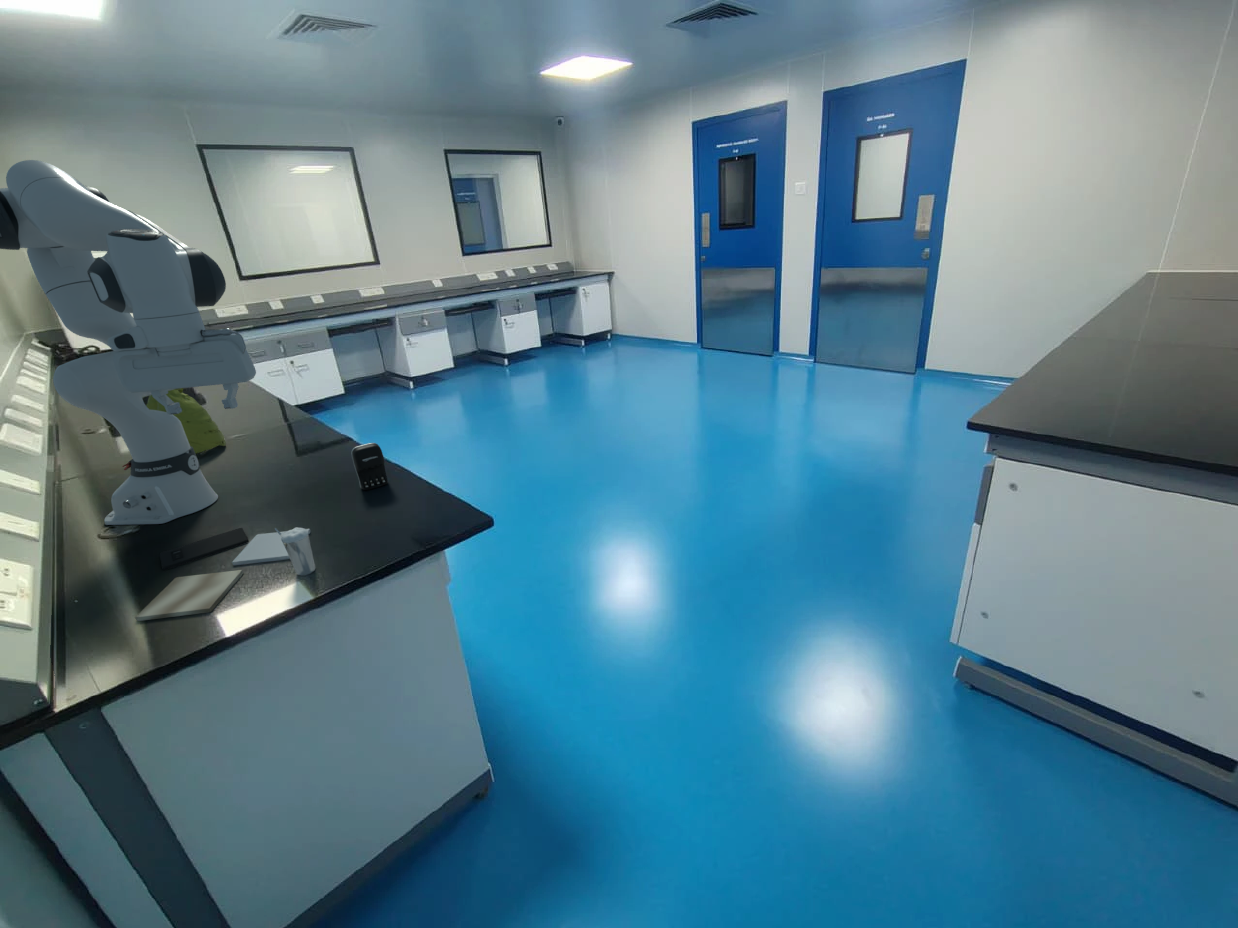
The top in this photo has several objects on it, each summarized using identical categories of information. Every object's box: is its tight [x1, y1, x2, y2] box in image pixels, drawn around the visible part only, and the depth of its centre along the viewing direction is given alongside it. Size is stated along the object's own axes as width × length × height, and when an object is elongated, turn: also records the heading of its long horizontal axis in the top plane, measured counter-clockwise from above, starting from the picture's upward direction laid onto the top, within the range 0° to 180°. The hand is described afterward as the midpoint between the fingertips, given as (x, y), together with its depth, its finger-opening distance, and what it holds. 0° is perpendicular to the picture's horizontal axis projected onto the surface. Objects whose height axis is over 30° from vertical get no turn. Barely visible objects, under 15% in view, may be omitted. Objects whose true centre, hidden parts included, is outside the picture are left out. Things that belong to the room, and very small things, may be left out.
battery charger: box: [350, 442, 389, 491], centre depth 139 cm, size 7×4×11 cm, turn 127°
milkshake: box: [274, 527, 316, 577], centre depth 105 cm, size 4×5×10 cm
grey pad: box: [231, 528, 312, 566], centre depth 115 cm, size 11×11×1 cm
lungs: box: [145, 388, 227, 455], centre depth 170 cm, size 25×16×24 cm, turn 50°
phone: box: [159, 527, 250, 571], centre depth 116 cm, size 8×1×15 cm
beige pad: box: [134, 569, 244, 622], centre depth 101 cm, size 12×12×1 cm
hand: (203, 410), depth 98 cm, fingers open, 8 cm apart
